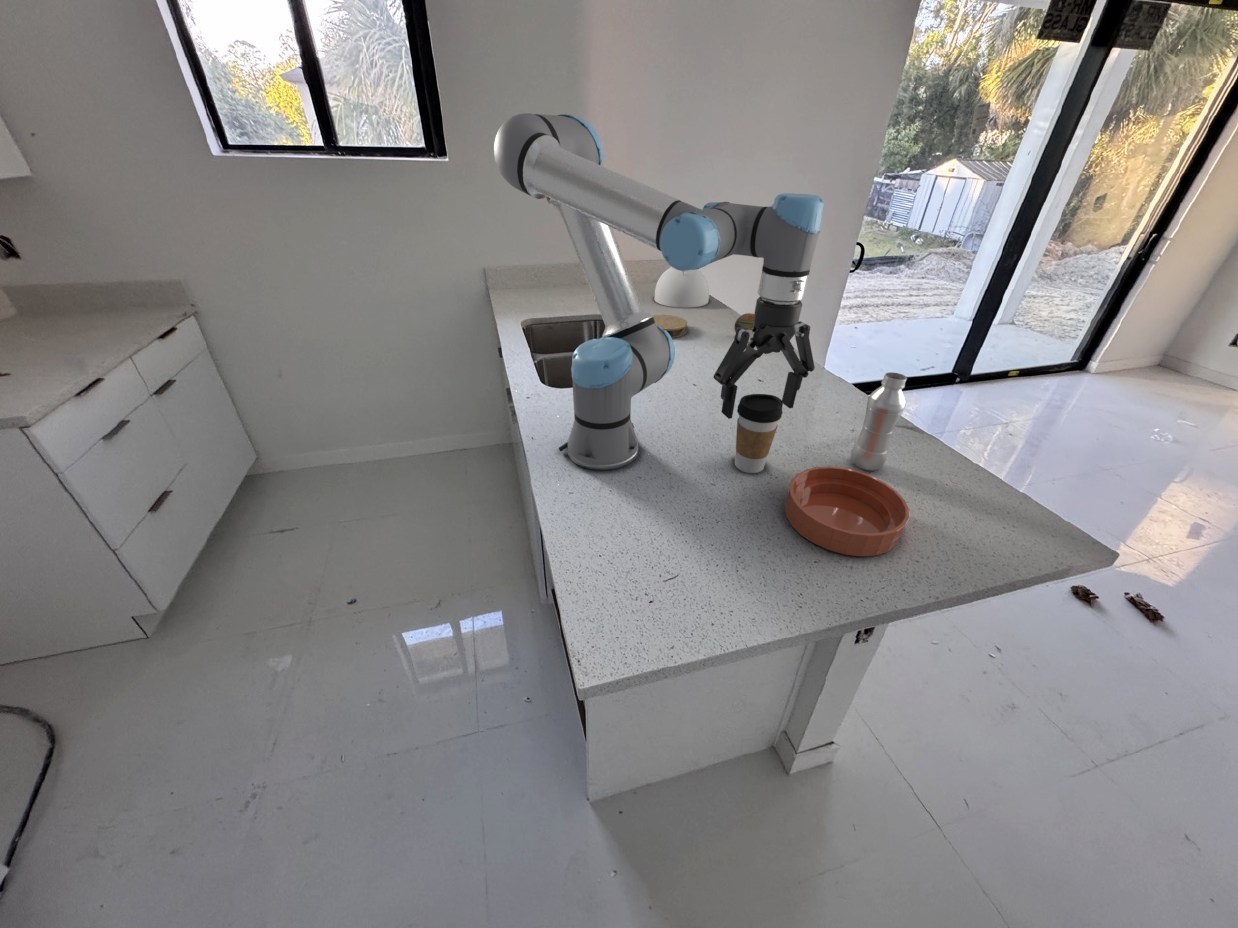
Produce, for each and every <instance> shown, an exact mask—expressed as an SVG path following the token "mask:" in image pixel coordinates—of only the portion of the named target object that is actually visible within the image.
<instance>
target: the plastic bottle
mask: <svg viewBox="0 0 1238 928" xmlns="http://www.w3.org/2000/svg"><path fill="white" fill-rule="evenodd" d="M907 380H908V378H907V376H906V375H904V374H903V373H899V372H893V371H892V372H886V373H885V374H884V375H883V379H882V380H881V382H880V383H881V386H879V387H877V388H875V390H874V391H872V392H871V393H870V394H869V396H868V397H867V400H866V401H867V402H866V408H865V415H864V419H863V423H862V427H861V430H860V433H859V435H858V437H857V440H855V441H856V442H855V443H854V444H853V447H852V449H851V451H850V460H851V462H852V463H853V464H854V466H856V467H857V468H860V469H861V470H862V469H863V470H866V471H878V470H879V469H881V468H883V467H884V465H885V464H886V462H887V459H888V454H889V447H890V443H891V438H892V435H893V433H894V430H895V428H896V425H897V423H898V421H899V419H900V417H901V416H902V414H903V412H904V410H905V409H906V406H907V405H906V404H907V403H906V402H907V401H906V397H905V394H904V392H903V389H905V387H906V382H907Z"/></svg>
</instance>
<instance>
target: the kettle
mask: <svg viewBox="0 0 1238 928" xmlns="http://www.w3.org/2000/svg"><path fill="white" fill-rule="evenodd" d="M709 299H710V287H709V282H708V280H707V278H706V276H705V274H704V273H703V271H701V270H700V268H699V269H696V270H688V271H681V270H677V269H675V268H673V267H671V266H670V267H669V268H667V269H666V270H665V271H664V272H663V273H662V274H661V275H660V277H659V278H658V280H657V283H656V285H655V289H654V299H653V300H654V301H655V302H656V303H657V304H660V305H662V306H665V307H670V308H671V307H672V308H683V309H684V308H688V309H689V308H698V307H702V306H705V305H708V303H709V301H710V300H709Z"/></svg>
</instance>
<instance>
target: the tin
mask: <svg viewBox="0 0 1238 928" xmlns="http://www.w3.org/2000/svg"><path fill="white" fill-rule="evenodd" d="M734 322H735V323H734V332H735V333H736V331H737V329H738V328H742V329H743V330H752V328H753V327H754V313H750V312H746V313H744V314H741V315H740V316H738V317H737V319H736V321H734ZM751 340H752V338H751V339H750V341H751Z"/></svg>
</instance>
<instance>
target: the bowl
mask: <svg viewBox="0 0 1238 928" xmlns="http://www.w3.org/2000/svg"><path fill="white" fill-rule="evenodd" d="M784 512H785V516H786V518H787V519H788V522H789V524H790V525H791V526H792V527H793V528H794V530H795V531H797V532H798V534H800V535H801V536H802V537H803V538H805V539H807V540H808V541H810V542H811V543H813V544H815V545H816V546H819V547H821V548H823V549H825V550H828V551H831V552H835V553H838V554H841V555H846V556H854V557H874V556H879V555H882V554H885V553H888V552H890V551H892V549H894V548H895V547H897V545H898V544H899V542H900V540H901V537H902V536H903V534H904V531H905V530H906V529H905V528H906V526H907V525H908V523H909V521H910V508H909V506H908V503H907V502H906V500H905V498H904V497H903V496H902V495H901V494H900V493H899V492H898V491H897V490H896V489H894V488H893V487H892V486H890V485H889V484H888V483H886V482H885V481H883V480H881V479H879V478H876V477H875V476H873V475H869V474H867V473H864V472H862V471H859V470H855V469H851V468H846V467H840V466H839V467H838V466H816V467H810V468H807V469H804V470H802V471H800V472H798V473H797V474H796V475H795V476H794V477H793V478H792V479H791V481H790V483H789V487H788V491H787V495H786V500H785V502H784Z"/></svg>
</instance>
